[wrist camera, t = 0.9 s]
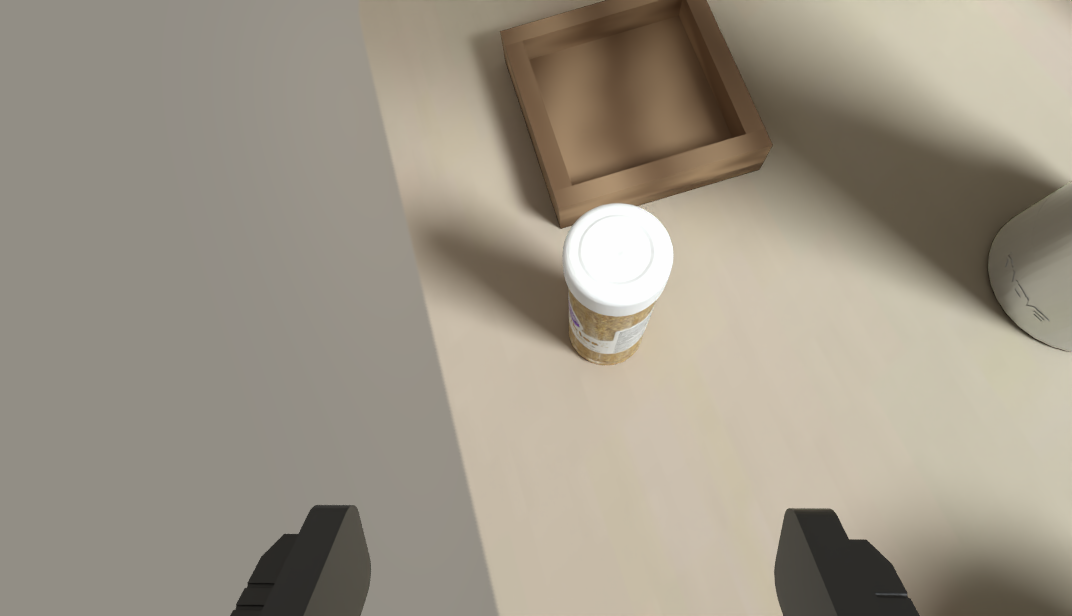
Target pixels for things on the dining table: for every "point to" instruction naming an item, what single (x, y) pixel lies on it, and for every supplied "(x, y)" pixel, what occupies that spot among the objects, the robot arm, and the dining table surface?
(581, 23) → the tray
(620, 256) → the spice jar
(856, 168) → the dining table surface
